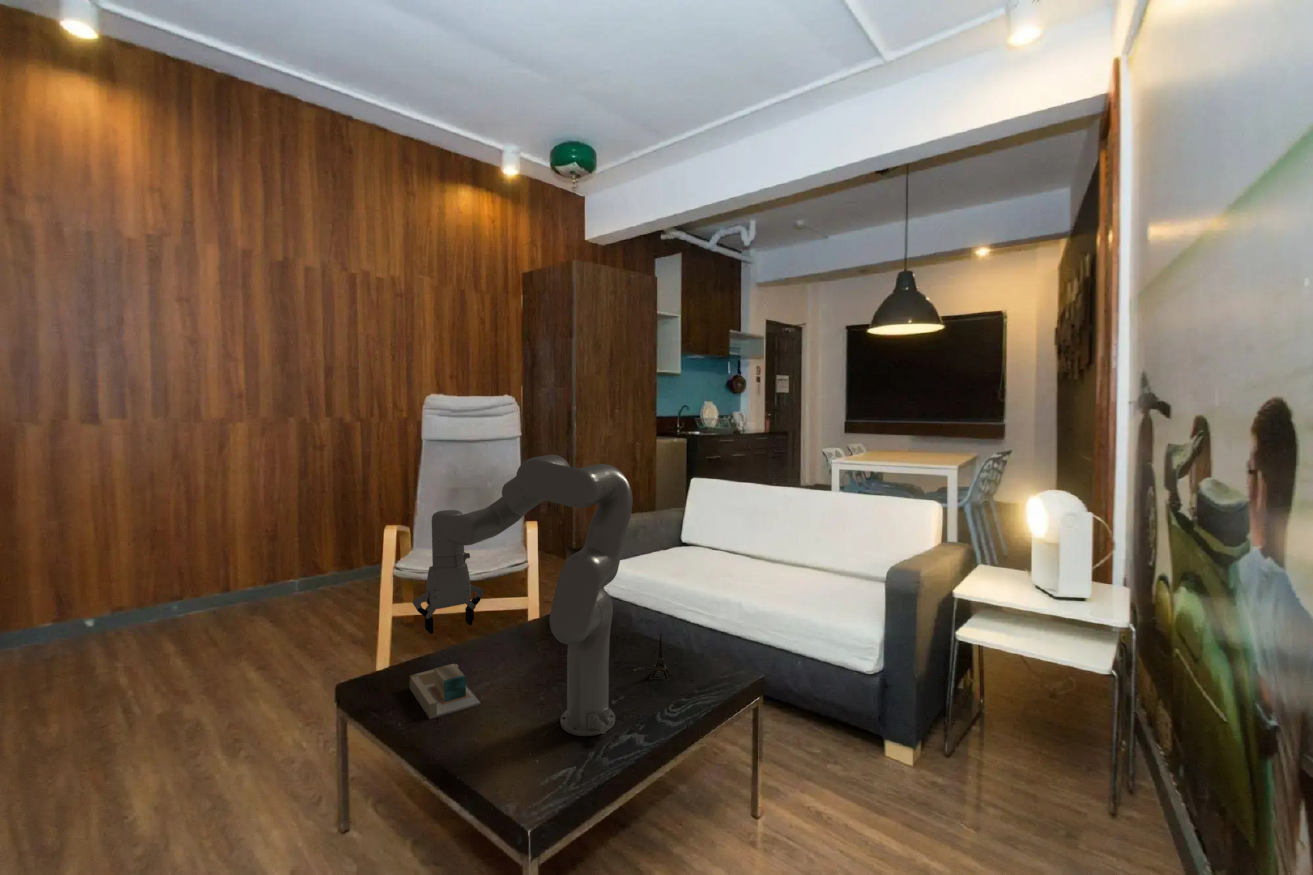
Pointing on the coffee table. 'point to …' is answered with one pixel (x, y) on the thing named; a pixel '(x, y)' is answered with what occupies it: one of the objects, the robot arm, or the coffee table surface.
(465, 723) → the coffee table surface
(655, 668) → the eiffel tower figurine
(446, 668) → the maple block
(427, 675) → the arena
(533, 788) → the coffee table surface
